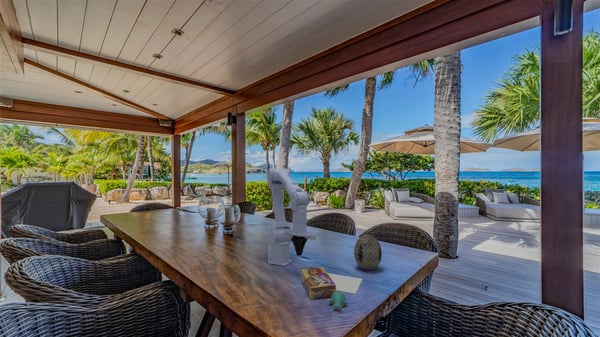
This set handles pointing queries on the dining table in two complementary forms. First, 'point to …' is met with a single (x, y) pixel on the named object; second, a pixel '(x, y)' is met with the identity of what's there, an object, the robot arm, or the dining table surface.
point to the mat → (346, 283)
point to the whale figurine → (338, 300)
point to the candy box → (318, 283)
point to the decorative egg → (367, 252)
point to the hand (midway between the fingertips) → (299, 255)
